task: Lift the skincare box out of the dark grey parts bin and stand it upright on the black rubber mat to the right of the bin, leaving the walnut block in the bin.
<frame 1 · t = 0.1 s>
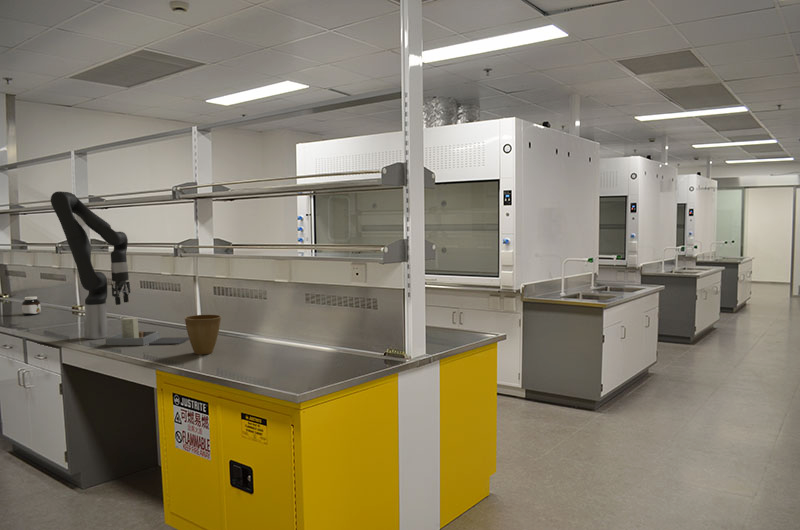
hand: (122, 303, 280), 17 cm above the table, tool pointing down, fingers open, 8 cm apart
plant pot: (204, 353, 244), on the table
place mat: (170, 341, 268), on the table
parts bin: (133, 341, 269), on the table
spread jar: (30, 314, 362), on the table
walnut block: (138, 340, 274), resting in parts bin
skincare box: (130, 343, 266), resting in parts bin
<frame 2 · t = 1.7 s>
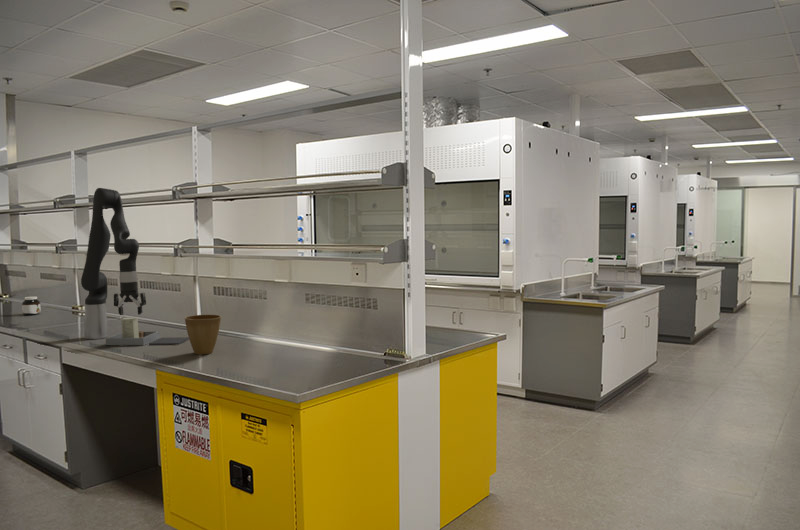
hand: (130, 314, 266), 14 cm above the table, tool pointing down, fingers open, 8 cm apart
nothing on the table moved.
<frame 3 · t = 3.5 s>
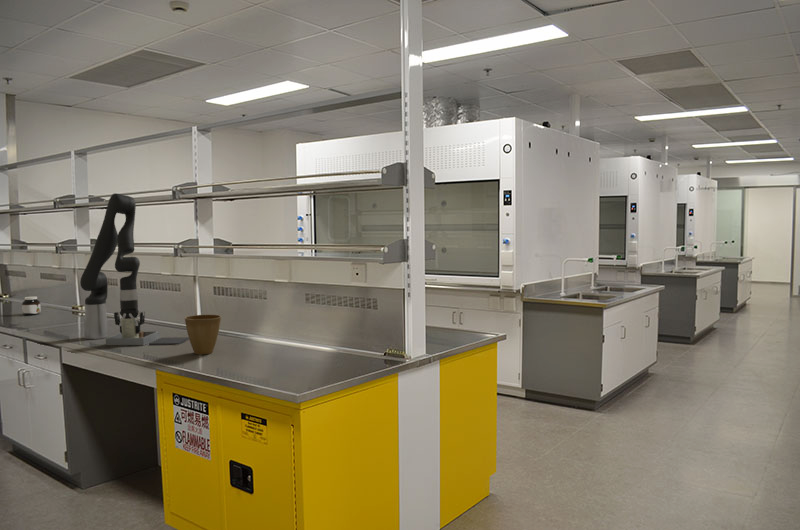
hand: (130, 333, 266), 5 cm above the table, tool pointing down, fingers closed on skincare box, 6 cm apart
skincare box: (130, 343, 266), resting in parts bin, touching gripper
everything else where it was.
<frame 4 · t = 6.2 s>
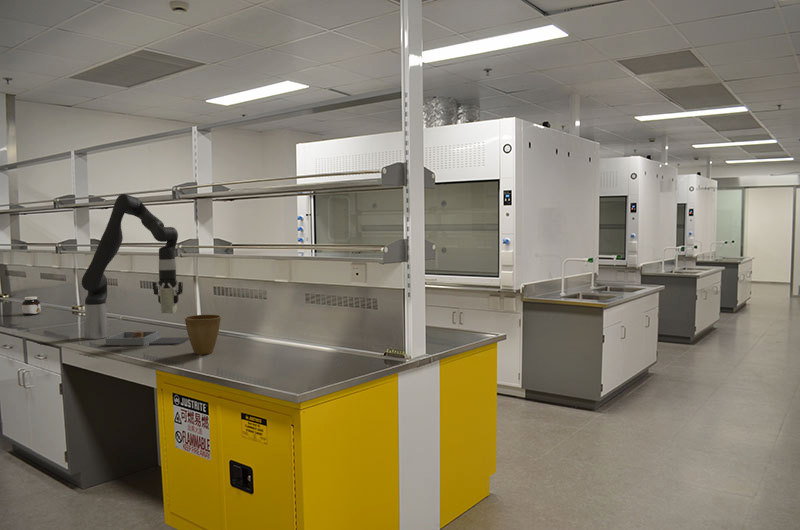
hand: (168, 303, 267), 19 cm above the table, tool pointing down, fingers closed on skincare box, 6 cm apart
skincare box: (168, 313, 267), point 14 cm above the table, touching gripper
everything else where it was.
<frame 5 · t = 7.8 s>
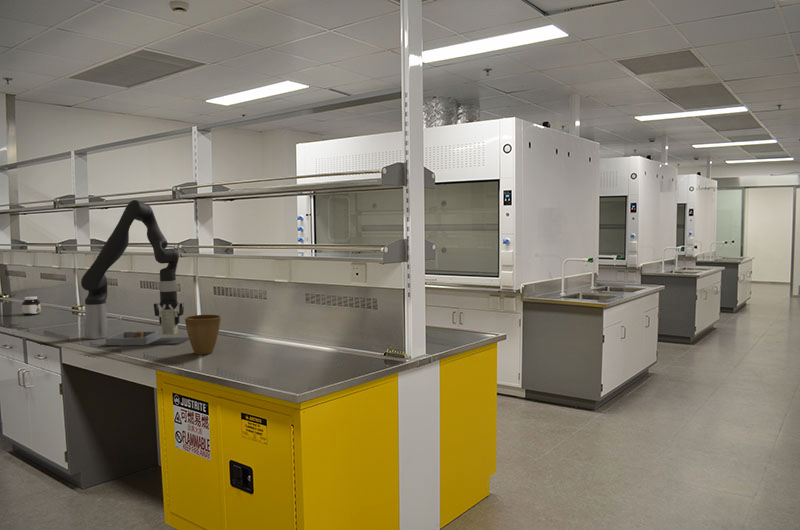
hand: (169, 324, 268), 8 cm above the table, tool pointing down, fingers closed on skincare box, 6 cm apart
skincare box: (169, 334, 268), point 4 cm above the table, touching gripper
everything else where it was.
when the fingers open (7 cm above the table, at t = 9.3 s): skincare box drops 1 cm, resting on place mat.
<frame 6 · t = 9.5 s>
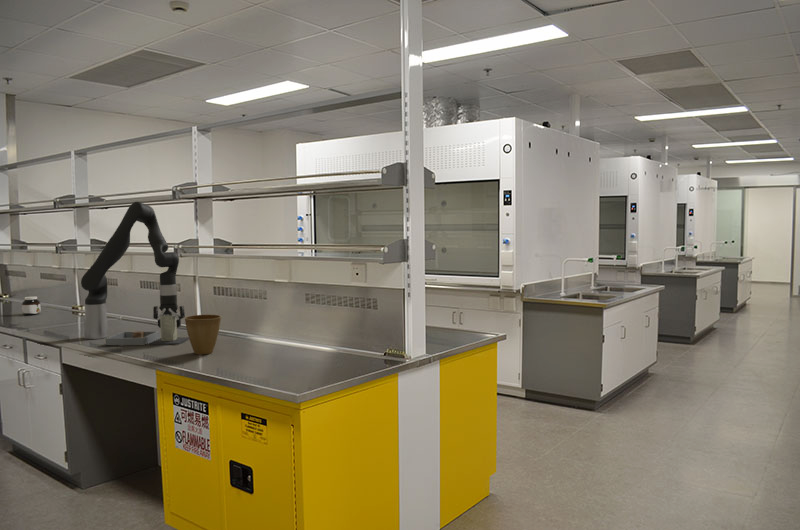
hand: (169, 327, 268), 7 cm above the table, tool pointing down, fingers open, 8 cm apart
skincare box: (169, 340, 268), point 1 cm above the table, touching place mat
everything else where it was.
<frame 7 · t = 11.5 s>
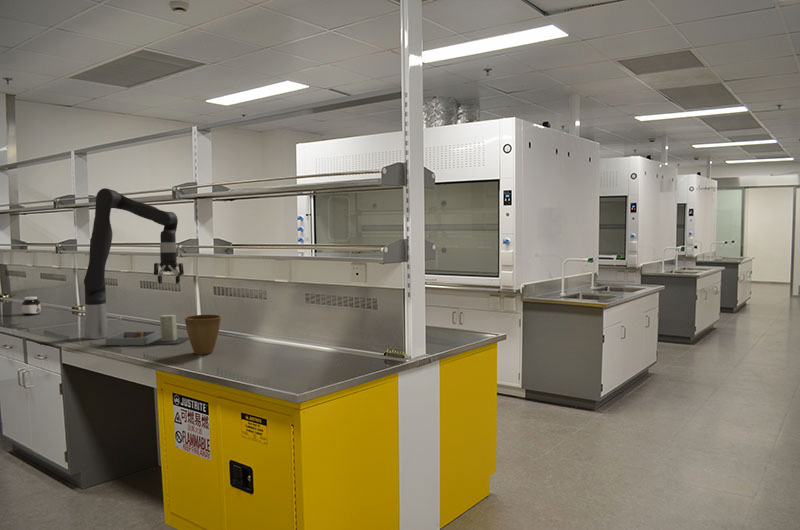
hand: (169, 283, 281), 27 cm above the table, tool pointing down, fingers open, 8 cm apart
nothing on the table moved.
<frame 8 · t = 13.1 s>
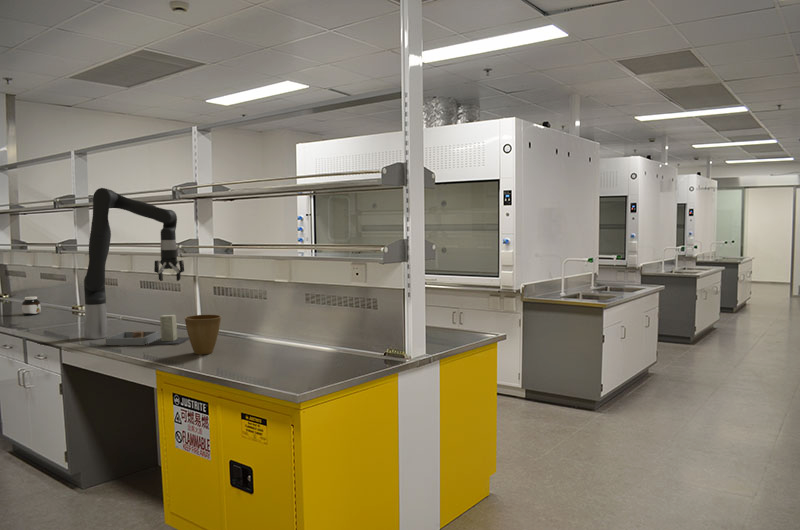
hand: (169, 280, 283), 28 cm above the table, tool pointing down, fingers open, 8 cm apart
nothing on the table moved.
at the end: skincare box inside the target area on the place mat (0.4 cm from its centre), point 0.6 cm above the place mat's base; skincare box tilted 0°; the gripper is holding nothing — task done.
